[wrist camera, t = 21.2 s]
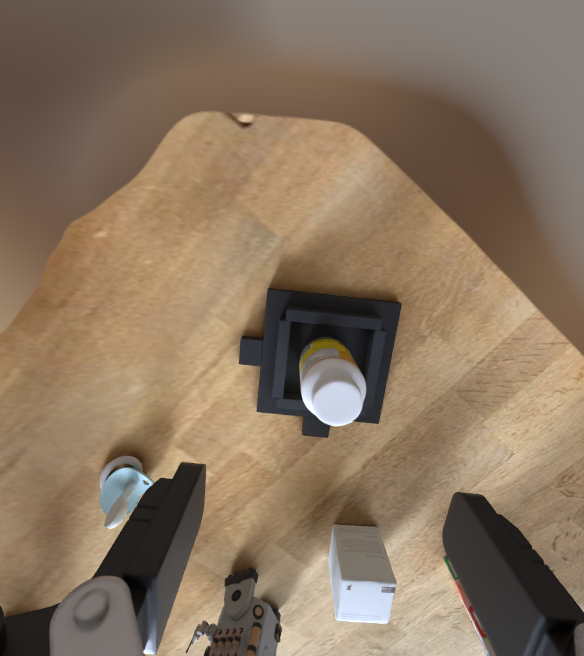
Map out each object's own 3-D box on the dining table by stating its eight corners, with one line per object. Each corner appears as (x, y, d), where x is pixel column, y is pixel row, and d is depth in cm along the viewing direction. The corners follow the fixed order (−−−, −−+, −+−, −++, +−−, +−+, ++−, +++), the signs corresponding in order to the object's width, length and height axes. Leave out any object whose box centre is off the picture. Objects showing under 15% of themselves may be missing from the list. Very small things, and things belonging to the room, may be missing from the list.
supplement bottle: (353, 379, 35) (377, 430, 25) (303, 387, 36) (307, 441, 26) (347, 331, 34) (370, 365, 24) (295, 339, 34) (296, 376, 24)
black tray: (245, 285, 34) (242, 288, 31) (398, 302, 34) (406, 306, 32) (235, 424, 38) (231, 436, 35) (373, 437, 38) (378, 450, 36)
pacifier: (92, 479, 40) (130, 509, 41) (54, 520, 34) (100, 554, 34) (128, 442, 39) (166, 473, 39) (95, 477, 32) (142, 513, 33)
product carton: (327, 559, 43) (334, 622, 35) (332, 522, 41) (341, 579, 34) (372, 563, 43) (388, 626, 36) (379, 525, 41) (397, 583, 34)
